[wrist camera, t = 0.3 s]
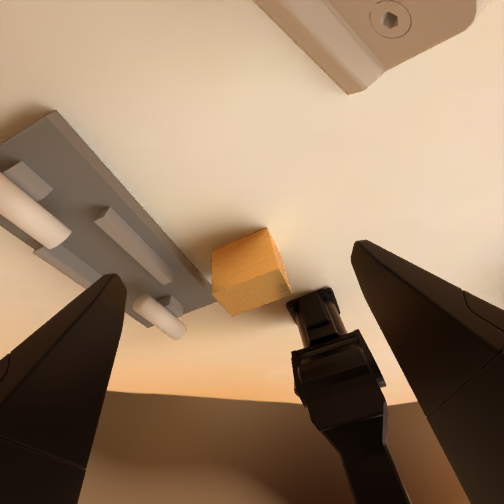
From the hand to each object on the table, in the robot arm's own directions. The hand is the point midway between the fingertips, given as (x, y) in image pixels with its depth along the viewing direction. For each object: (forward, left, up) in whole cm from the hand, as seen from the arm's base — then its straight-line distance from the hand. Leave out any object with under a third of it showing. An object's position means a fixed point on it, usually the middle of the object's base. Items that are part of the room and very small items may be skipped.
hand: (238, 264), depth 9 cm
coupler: (-11, +3, -14) cm, 18 cm away
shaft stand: (-4, +14, -14) cm, 20 cm away
